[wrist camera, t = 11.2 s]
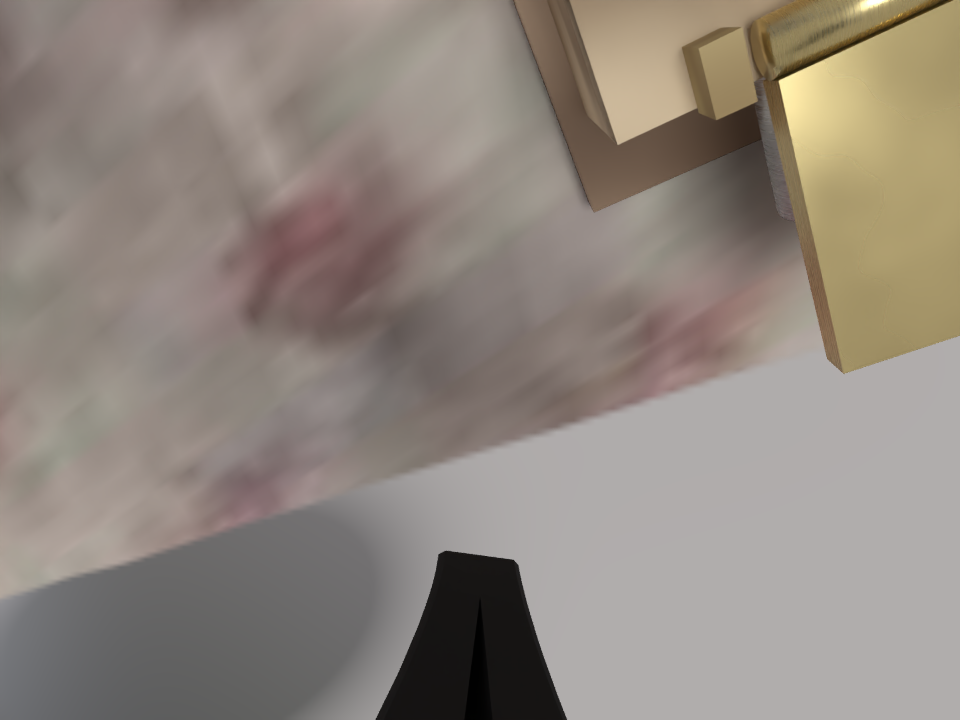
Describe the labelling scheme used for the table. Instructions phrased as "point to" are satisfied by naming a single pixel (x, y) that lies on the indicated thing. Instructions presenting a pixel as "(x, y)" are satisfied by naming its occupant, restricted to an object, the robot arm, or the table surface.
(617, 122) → the hitch block
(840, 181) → the brass hinge flap
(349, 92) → the table surface
